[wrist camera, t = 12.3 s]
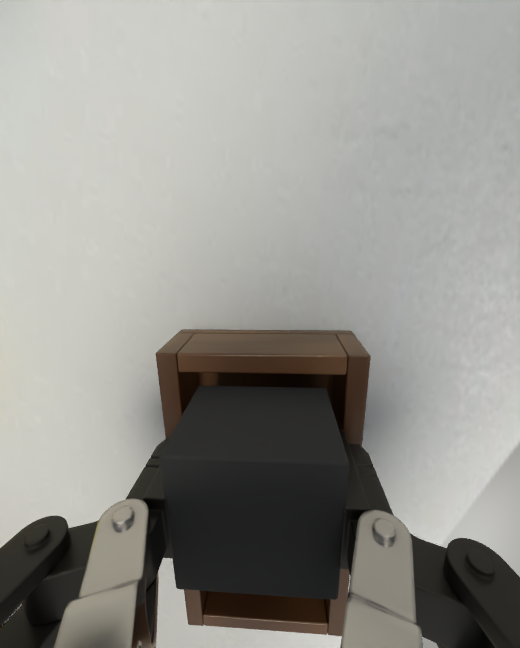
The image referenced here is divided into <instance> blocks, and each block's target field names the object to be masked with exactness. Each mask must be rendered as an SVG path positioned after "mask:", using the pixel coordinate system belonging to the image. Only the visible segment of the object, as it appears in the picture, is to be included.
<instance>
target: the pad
mask: <svg viewBox="0 0 520 648" xmlns="http://www.w3.org/2000/svg"><path fill="white" fill-rule="evenodd" d="M160 466H161V473H162V481H163V489H164V496H165V498H167V504H168V512H169V520H170V528H171V536H172V543H173V551H174V558H173V565H174V573H175V580H176V587H177V588H178V589H185V590H200V591H215V592H229V593H244V594H259V595H274V596H288V597H303V598H318V599H332V600H336V599H337V598H338V591H339V579H340V569H339V561H340V549H341V536H342V524H343V512H344V506H345V505H346V496H347V484H348V472H349V462H348V458H347V455H346V452H345V448H344V445H343V442H342V439H341V435H340V432H339V429H338V425H337V422H336V419H335V416H334V412H333V409H332V406H331V402H330V399H329V396H328V393H327V390H326V388H298V387H247V386H198V388H197V390H196V392H195V393H194V395H193V397H192V399H191V401H190V402H189V404H188V406H187V408H186V409H185V411H184V413H183V415H182V417H181V418H180V420H179V422H178V424H177V426H176V427H175V429H174V431H173V433H172V435H171V436H170V438H169V440H168V442H167V444H166V445H165V447H164V449H163V451H162V453H161V454H160Z"/></svg>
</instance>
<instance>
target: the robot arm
mask: <svg viewBox="0 0 520 648" xmlns="http://www.w3.org/2000/svg"><path fill="white" fill-rule="evenodd" d="M339 432H340V435H341V439H342V442H343V445H344V448H345V452H346V455H347V458H348V462H349V472H348V484H347V496H346V505H345V506H344V512H343V524H342V536H341V549H340V561H339V569H349V572H350V577H351V578H350V585H349V592H348V596H347V603H346V610H345V618H344V625H343V632H342V640H341V647H340V648H423V642H422V637H424V638H427V639H429V640H431V641H433V642H435V643H437V645H438V647H439V648H520V577H519V576H518V575H517V574H516V573H515V572H514V571H513V570H512V569H511V568H510V566H509V565H508V564H507V563H506V562H505V561H504V560H503V559H502V558H501V557H500V556H499V555H498V554H496V553H495V552H494V551H493V550H491V549H490V548H489V547H486V546H485V545H483V544H482V543H479V542H477V541H474V540H471V539H467V538H458V539H454V540H452V541H451V542H450V543H449V544H448V547H447V548H444V547H441V546H438V545H435V544H432V543H429V542H426V541H424V540H421V539H419V538H417V537H415V536H413V535H412V534H410V533H409V531H408V529H407V528H406V526H405V525H404V524H403V523H402V522H401V521H400V520H399V519H398V518H396V517H395V516H394V515H393V513H392V510H391V508H390V506H389V503H388V501H387V498H386V496H385V493H384V491H383V488H382V486H381V483H380V481H379V479H378V477H377V474H376V471H375V469H374V467H373V464H372V461H371V459H370V456H369V454H368V453H367V452H366V451H365V450H364V449H363V448H362V447H361V446H360V445H359V444H349V442H348V439H347V436H346V433H345V431H344V430H339ZM168 440H169V438H166V439H165V440H164V441H163V442H162V443H160V444H159V445H158V446H157V447H156V449H155V451H154V452H153V454H152V456H151V459H149V461H148V462H147V464H146V467H144V469H143V471H142V472H141V474H140V476H139V477H138V479H137V481H136V483H135V484H134V486H133V488H132V489H131V491H130V493H129V494H128V496H127V498H126V499H125V500H123V501H120V502H118V503H116V504H114V505H113V506H111V507H110V508H109V509H108V510H106V511H105V513H104V514H103V515H102V516H101V518H100V519H99V521H96V522H93V523H89V524H85V525H81V526H77V527H72V528H68V524H67V521H66V520H65V519H64V518H63V517H60V516H49V517H45V518H42V519H39V520H37V521H35V522H33V523H31V524H29V525H28V526H26V527H25V528H24V529H22V530H21V531H20V532H19V533H18V534H16V535H15V536H14V537H13V538H12V539H11V540H10V541H8V542H7V543H6V544H5V545H4V546H3V547H1V548H0V626H1V625H2V623H3V622H4V621H5V620H6V619H7V618H8V617H9V616H10V615H11V614H12V613H13V611H14V610H15V609H16V608H17V607H18V606H19V605H20V604H21V603H22V606H21V607H20V608H19V609H18V611H17V612H16V613H15V614H14V615H13V616H12V617H11V618H10V619H9V620H8V622H7V623H6V624H5V625H4V626H3V627H2V628H1V629H0V648H53V647H54V648H156V632H157V606H158V570H159V567H160V564H161V562H162V559H163V558H174V551H173V543H172V536H171V528H170V520H169V512H168V504H167V498H165V496H164V489H163V481H162V473H161V466H160V454H161V453H162V451H163V449H164V447H165V445H166V444H167V442H168Z"/></svg>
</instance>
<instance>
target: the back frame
mask: <svg viewBox="0 0 520 648" xmlns="http://www.w3.org/2000/svg"><path fill="white" fill-rule="evenodd" d="M156 360H157V368H158V376H159V385H160V393H161V401H162V410H163V418H164V426H165V435H166V438H170V436H171V435H172V433H173V431H174V429H175V427H176V426H177V424H178V422H179V420H180V418H181V417H182V415H183V413H184V411H185V409H186V408H187V406H188V404H189V402H190V401H191V399H192V397H193V395H194V393H195V392H196V390H197V388H198V386H247V387H298V388H326V390H327V393H328V396H329V399H330V402H331V406H332V409H333V412H334V416H335V419H336V422H337V425H338V429H339V430H344V431H345V433H346V436H347V439H348V442H349V444H359V445H360V446H361V447H362V440H363V430H364V419H365V409H366V398H367V388H368V378H369V367H370V355H369V353H368V352H367V351H366V350H365V348H364V347H363V346H362V344H361V343H360V342H359V340H358V339H357V338H356V337H355V335H354V334H353V333H352V331H281V330H181V331H180V332H179V333H177V334H176V335H175V336H174V337H173V338H172V339H171V340H170V341H169V342H168V343H167V344H165V345H164V346H163V347H162V348H161V349H160V350H159V351H158V352H157V353H156ZM349 575H350V572H349V569H340V579H339V591H338V598H337V599H336V600H332V599H318V598H303V597H288V596H274V595H259V594H244V593H229V592H215V591H200V590H185V589H184V593H185V601H186V609H187V618H188V624H189V625H201V626H202V625H203V624H204V625H206V626H219V627H232V628H246V629H259V630H272V631H285V632H298V633H312V634H325V635H326V634H327V633H328V635H335V636H342V632H343V625H344V618H345V610H346V603H347V596H348V586H349Z"/></svg>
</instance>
